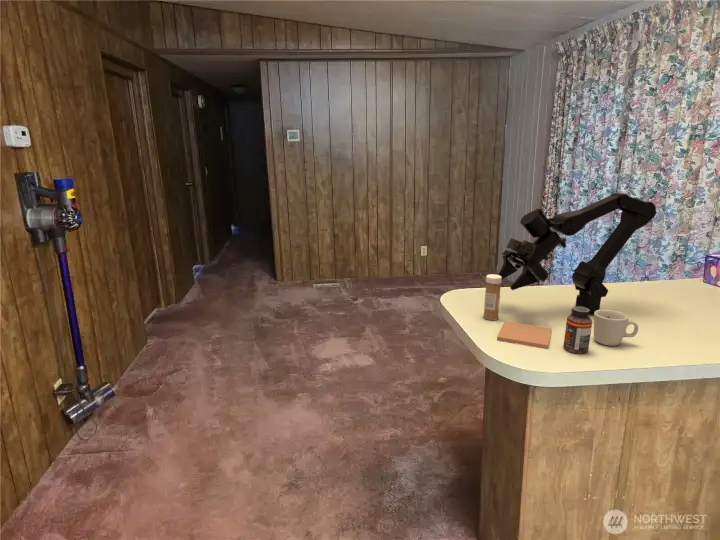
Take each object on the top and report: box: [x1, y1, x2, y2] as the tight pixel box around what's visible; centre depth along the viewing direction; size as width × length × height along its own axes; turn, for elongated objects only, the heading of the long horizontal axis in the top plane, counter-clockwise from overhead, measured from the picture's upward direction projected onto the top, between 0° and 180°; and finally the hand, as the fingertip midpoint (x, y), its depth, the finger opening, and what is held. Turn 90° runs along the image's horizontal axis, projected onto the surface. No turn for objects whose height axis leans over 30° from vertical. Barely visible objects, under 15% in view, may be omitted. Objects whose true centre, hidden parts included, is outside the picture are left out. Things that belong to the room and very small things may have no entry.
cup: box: [593, 309, 639, 347], centre depth 127 cm, size 11×8×8 cm
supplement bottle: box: [563, 306, 593, 355], centre depth 122 cm, size 6×6×11 cm
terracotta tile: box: [496, 320, 552, 350], centre depth 132 cm, size 13×13×1 cm
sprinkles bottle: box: [482, 273, 503, 321], centre depth 144 cm, size 5×5×14 cm
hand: (503, 284), depth 143 cm, fingers open, 9 cm apart
